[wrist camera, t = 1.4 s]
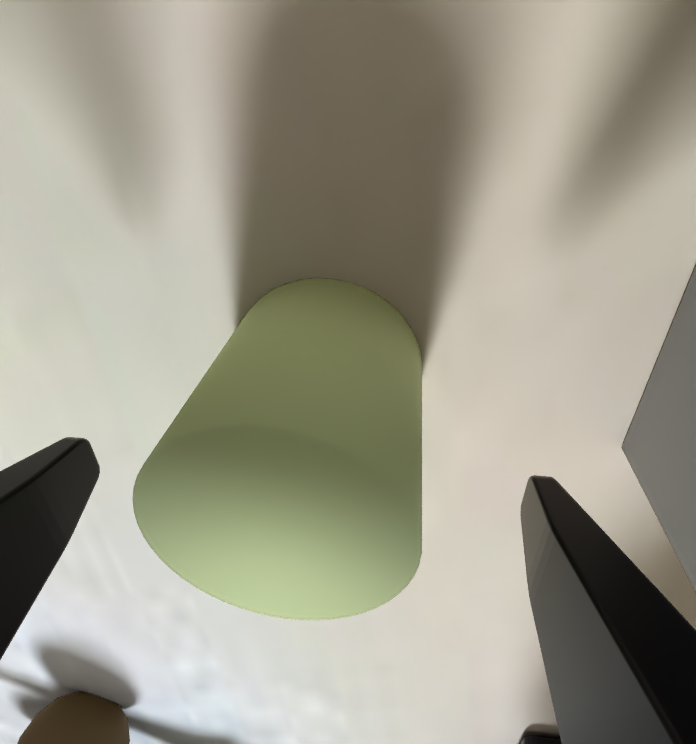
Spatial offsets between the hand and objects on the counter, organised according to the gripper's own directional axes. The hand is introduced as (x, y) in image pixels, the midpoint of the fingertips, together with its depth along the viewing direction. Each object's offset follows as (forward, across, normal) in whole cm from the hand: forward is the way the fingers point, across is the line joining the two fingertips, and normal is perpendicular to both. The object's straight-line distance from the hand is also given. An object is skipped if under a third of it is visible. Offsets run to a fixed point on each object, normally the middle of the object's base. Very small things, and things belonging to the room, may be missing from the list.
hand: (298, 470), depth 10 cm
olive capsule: (+4, 0, 0) cm, 4 cm away
